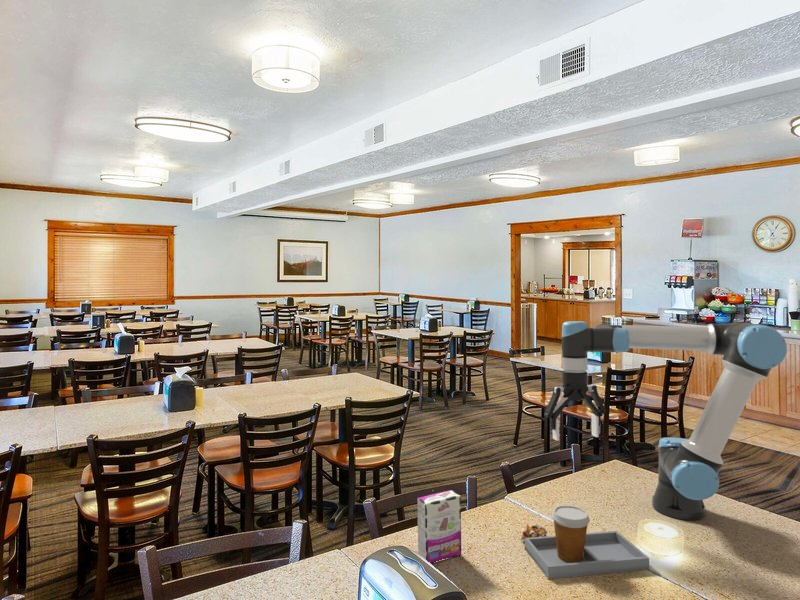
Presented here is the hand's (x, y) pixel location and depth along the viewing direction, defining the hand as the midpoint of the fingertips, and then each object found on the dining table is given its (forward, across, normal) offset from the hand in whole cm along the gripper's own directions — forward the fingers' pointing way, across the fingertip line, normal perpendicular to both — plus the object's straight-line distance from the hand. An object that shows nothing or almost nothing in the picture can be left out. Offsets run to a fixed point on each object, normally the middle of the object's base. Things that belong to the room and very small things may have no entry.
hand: (575, 437), depth 161 cm
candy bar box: (+24, +49, +14) cm, 57 cm away
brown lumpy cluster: (+25, +19, +9) cm, 33 cm away
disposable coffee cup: (+24, +16, +23) cm, 37 cm away
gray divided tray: (+25, +12, +23) cm, 36 cm away
